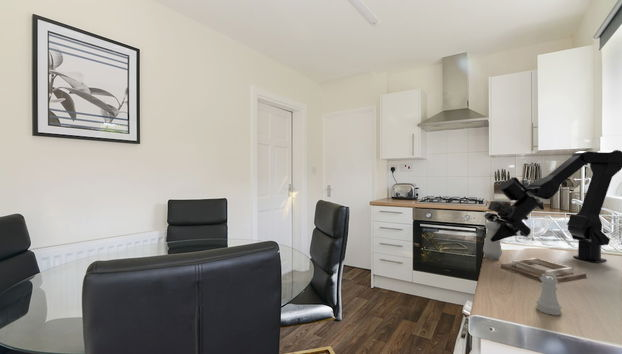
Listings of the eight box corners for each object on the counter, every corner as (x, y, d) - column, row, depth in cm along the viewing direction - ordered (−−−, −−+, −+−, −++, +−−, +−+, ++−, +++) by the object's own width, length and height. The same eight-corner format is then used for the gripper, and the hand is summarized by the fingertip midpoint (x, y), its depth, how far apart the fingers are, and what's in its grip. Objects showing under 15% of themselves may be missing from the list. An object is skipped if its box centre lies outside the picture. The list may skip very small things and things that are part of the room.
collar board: (536, 262, 97) (536, 255, 97) (586, 277, 83) (586, 268, 83) (501, 267, 92) (501, 259, 92) (548, 283, 79) (548, 274, 79)
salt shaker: (496, 255, 105) (496, 220, 105) (505, 260, 100) (505, 223, 99) (479, 255, 106) (480, 220, 106) (487, 259, 100) (488, 223, 100)
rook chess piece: (530, 306, 65) (531, 272, 65) (548, 306, 66) (548, 271, 65) (548, 316, 61) (548, 279, 61) (567, 315, 61) (568, 279, 61)
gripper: (489, 192, 111) (460, 219, 112) (521, 196, 93) (486, 229, 94) (510, 212, 111) (480, 239, 112) (546, 220, 92) (511, 253, 93)
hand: (488, 239), depth 103 cm, fingers closed on salt shaker, 3 cm apart
